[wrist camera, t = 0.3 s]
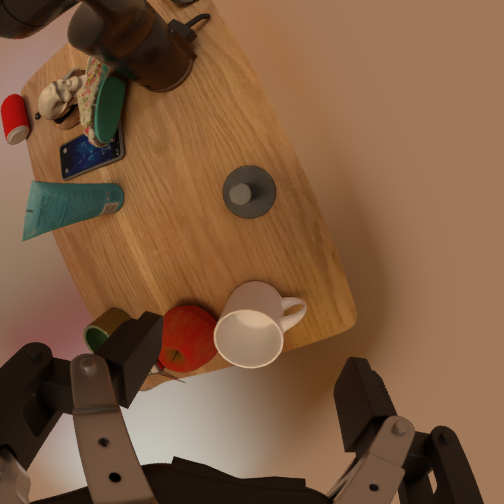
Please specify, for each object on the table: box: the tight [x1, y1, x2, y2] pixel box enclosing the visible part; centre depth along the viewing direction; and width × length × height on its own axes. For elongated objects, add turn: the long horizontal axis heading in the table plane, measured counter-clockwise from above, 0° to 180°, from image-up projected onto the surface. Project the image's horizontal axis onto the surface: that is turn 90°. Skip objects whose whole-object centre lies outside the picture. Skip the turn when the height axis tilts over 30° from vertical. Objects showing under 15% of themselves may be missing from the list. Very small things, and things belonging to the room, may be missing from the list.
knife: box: [35, 66, 77, 119], centre depth 37 cm, size 15×1×2 cm
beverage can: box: [1, 94, 30, 145], centre depth 37 cm, size 6×6×12 cm
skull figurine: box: [38, 70, 88, 129], centre depth 36 cm, size 12×10×10 cm
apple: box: [159, 305, 218, 373], centre depth 40 cm, size 10×10×10 cm
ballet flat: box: [77, 56, 128, 148], centre depth 33 cm, size 9×25×8 cm
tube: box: [22, 181, 124, 241], centre depth 32 cm, size 7×5×19 cm, turn 160°
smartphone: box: [60, 120, 124, 181], centre depth 40 cm, size 7×1×15 cm
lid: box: [223, 166, 276, 218], centre depth 35 cm, size 7×7×9 cm
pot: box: [84, 308, 131, 353], centre depth 44 cm, size 7×7×8 cm
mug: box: [214, 281, 307, 368], centre depth 38 cm, size 9×12×11 cm
